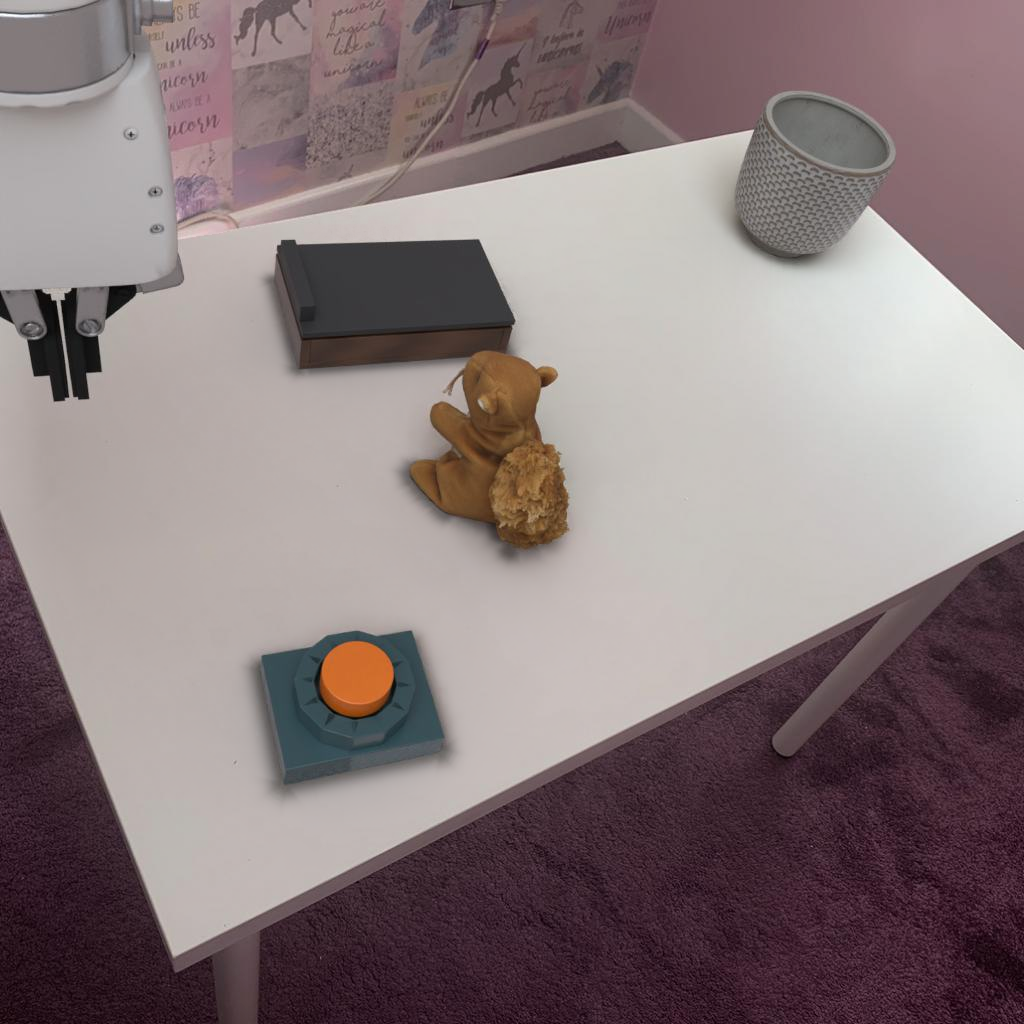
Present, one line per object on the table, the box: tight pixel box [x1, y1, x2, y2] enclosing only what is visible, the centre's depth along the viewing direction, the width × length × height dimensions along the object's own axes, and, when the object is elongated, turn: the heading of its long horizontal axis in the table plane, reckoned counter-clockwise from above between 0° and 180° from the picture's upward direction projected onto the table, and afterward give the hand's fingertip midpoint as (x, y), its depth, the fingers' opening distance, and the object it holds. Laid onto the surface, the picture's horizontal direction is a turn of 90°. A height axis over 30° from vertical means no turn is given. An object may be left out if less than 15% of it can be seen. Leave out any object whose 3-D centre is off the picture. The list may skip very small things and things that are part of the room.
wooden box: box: [273, 252, 514, 370], centre depth 91 cm, size 18×11×3 cm, turn 108°
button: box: [319, 641, 394, 717], centre depth 65 cm, size 4×4×2 cm
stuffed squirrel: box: [409, 351, 570, 550], centre depth 77 cm, size 10×14×13 cm
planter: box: [734, 90, 897, 259], centre depth 108 cm, size 14×14×13 cm
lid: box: [276, 238, 516, 338], centre depth 89 cm, size 18×11×2 cm, turn 108°
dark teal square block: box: [259, 629, 445, 786], centre depth 67 cm, size 10×8×4 cm
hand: (69, 378), depth 51 cm, fingers closed
